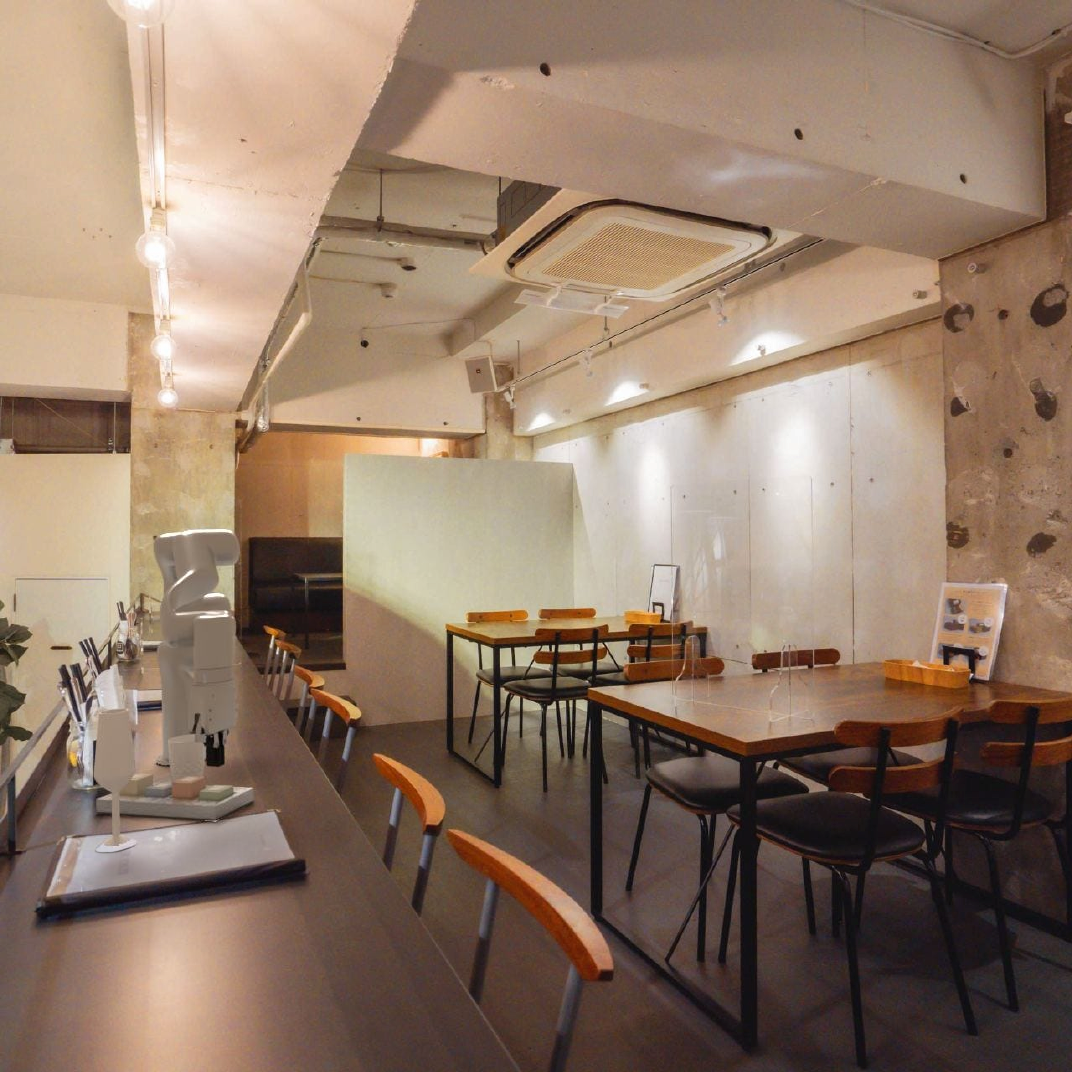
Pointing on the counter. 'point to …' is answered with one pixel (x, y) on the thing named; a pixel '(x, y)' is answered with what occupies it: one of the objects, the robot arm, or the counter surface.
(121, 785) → the champagne flute
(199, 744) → the white cup
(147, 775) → the key
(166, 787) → the key
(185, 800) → the keyguard pad
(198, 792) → the key
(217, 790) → the key
